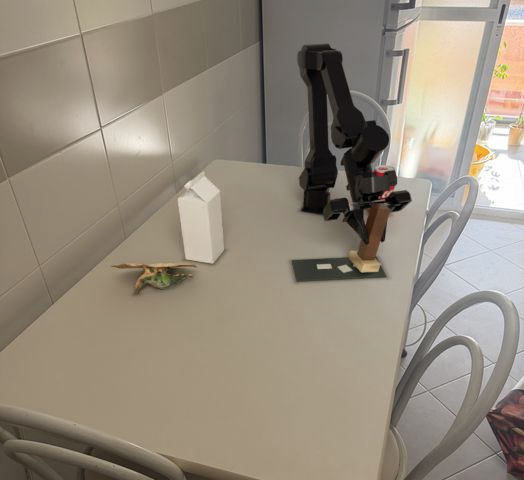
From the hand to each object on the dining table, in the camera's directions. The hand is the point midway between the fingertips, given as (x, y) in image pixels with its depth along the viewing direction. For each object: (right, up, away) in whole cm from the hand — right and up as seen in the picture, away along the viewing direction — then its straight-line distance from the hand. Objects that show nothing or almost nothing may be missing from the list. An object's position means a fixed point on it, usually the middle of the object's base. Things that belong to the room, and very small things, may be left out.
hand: (375, 243), depth 106 cm
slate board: (-7, -5, +6) cm, 10 cm away
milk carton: (-38, -1, +12) cm, 40 cm away
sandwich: (-48, -8, +2) cm, 49 cm away
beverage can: (+8, +14, +28) cm, 33 cm away
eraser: (-2, -4, +5) cm, 7 cm away
